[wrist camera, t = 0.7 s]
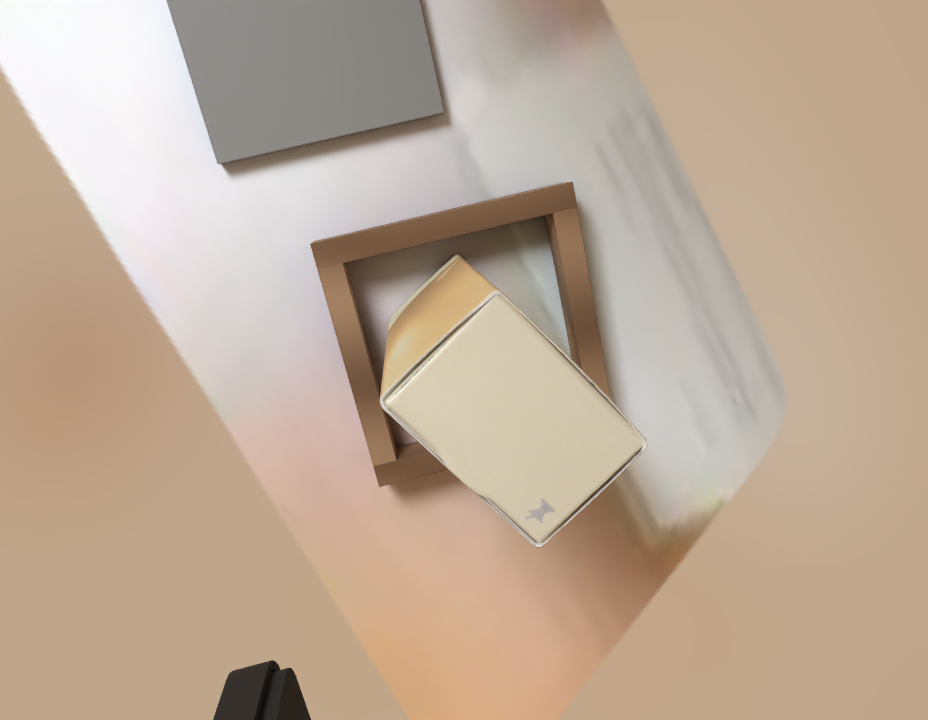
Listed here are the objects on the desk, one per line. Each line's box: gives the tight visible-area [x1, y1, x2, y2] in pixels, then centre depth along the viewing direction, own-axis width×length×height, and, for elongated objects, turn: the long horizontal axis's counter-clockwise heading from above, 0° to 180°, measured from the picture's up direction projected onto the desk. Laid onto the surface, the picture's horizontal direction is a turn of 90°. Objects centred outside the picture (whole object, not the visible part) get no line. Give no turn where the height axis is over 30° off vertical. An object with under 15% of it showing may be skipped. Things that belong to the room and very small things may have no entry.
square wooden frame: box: [310, 182, 610, 487], centre depth 28 cm, size 11×11×2 cm
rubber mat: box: [167, 0, 444, 164], centre depth 25 cm, size 9×9×1 cm
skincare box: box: [380, 254, 647, 548], centre depth 23 cm, size 6×4×12 cm
